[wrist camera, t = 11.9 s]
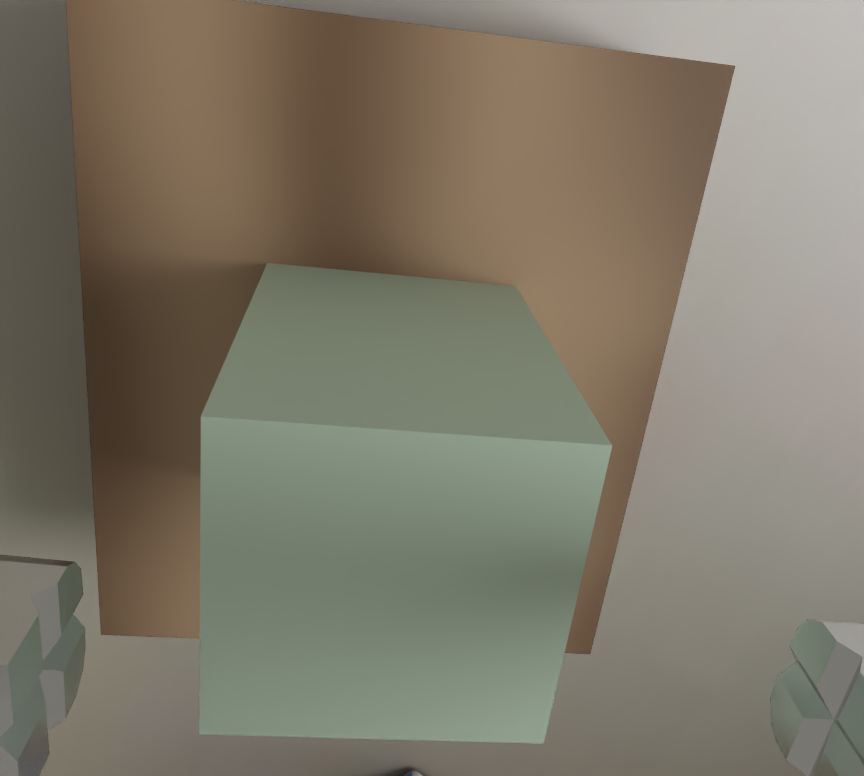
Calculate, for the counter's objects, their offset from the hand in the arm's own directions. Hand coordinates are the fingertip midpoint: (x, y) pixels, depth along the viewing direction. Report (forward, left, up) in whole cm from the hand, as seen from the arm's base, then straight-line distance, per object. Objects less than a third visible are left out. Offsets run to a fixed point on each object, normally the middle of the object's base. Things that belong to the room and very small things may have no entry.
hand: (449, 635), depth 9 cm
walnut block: (+1, +1, -14) cm, 14 cm away
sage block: (+1, +1, -9) cm, 9 cm away
